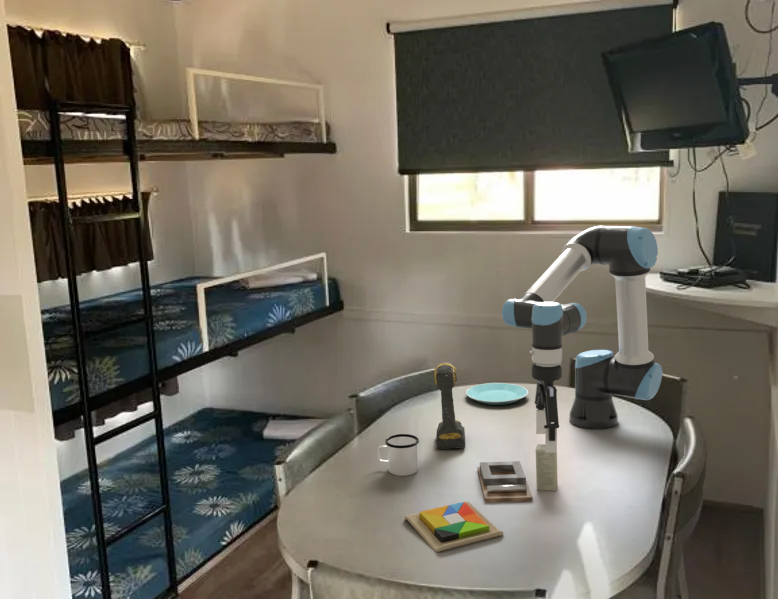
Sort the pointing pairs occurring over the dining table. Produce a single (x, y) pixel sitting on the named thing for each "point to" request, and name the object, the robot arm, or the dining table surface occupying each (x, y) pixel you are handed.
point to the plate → (497, 393)
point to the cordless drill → (448, 409)
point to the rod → (506, 488)
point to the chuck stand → (503, 480)
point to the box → (546, 469)
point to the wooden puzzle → (452, 526)
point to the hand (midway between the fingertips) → (546, 442)
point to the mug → (401, 454)
